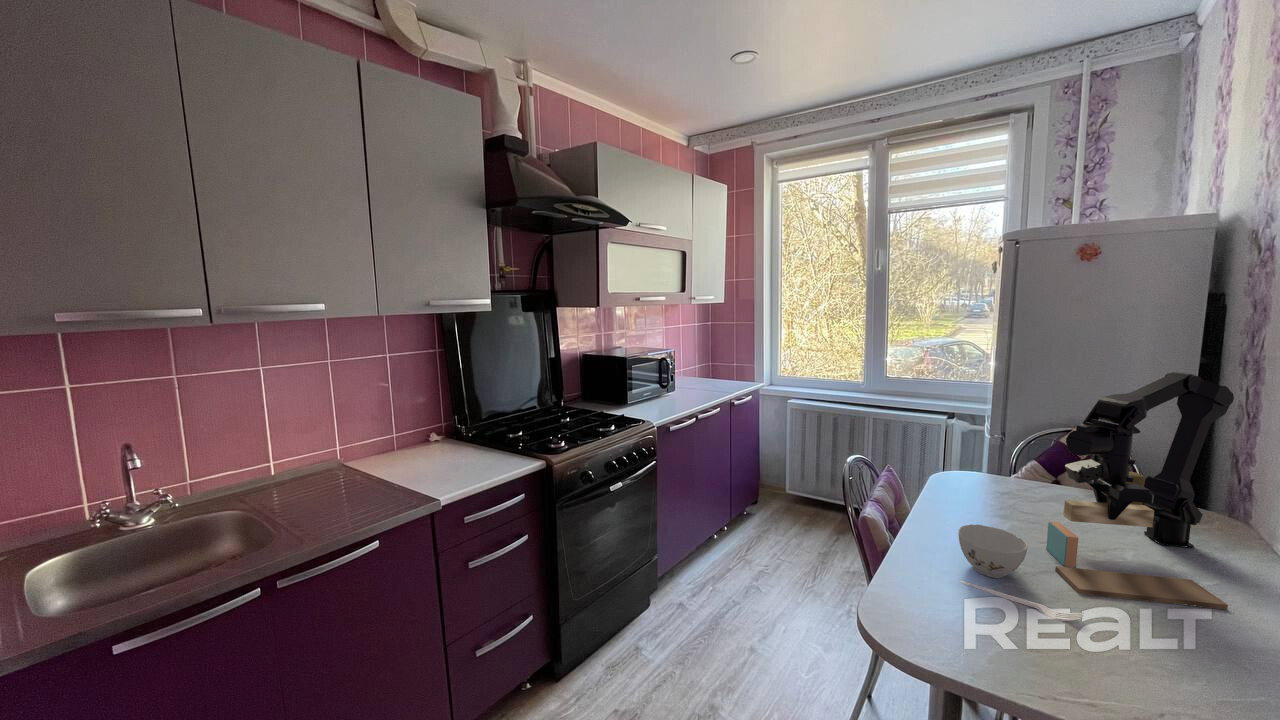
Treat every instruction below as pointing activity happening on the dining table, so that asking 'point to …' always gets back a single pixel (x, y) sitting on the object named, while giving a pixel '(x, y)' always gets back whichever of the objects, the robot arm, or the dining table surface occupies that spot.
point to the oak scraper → (1099, 514)
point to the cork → (1136, 480)
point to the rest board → (1139, 587)
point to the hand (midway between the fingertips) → (1107, 516)
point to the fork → (1034, 605)
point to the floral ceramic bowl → (992, 549)
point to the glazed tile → (1062, 544)
